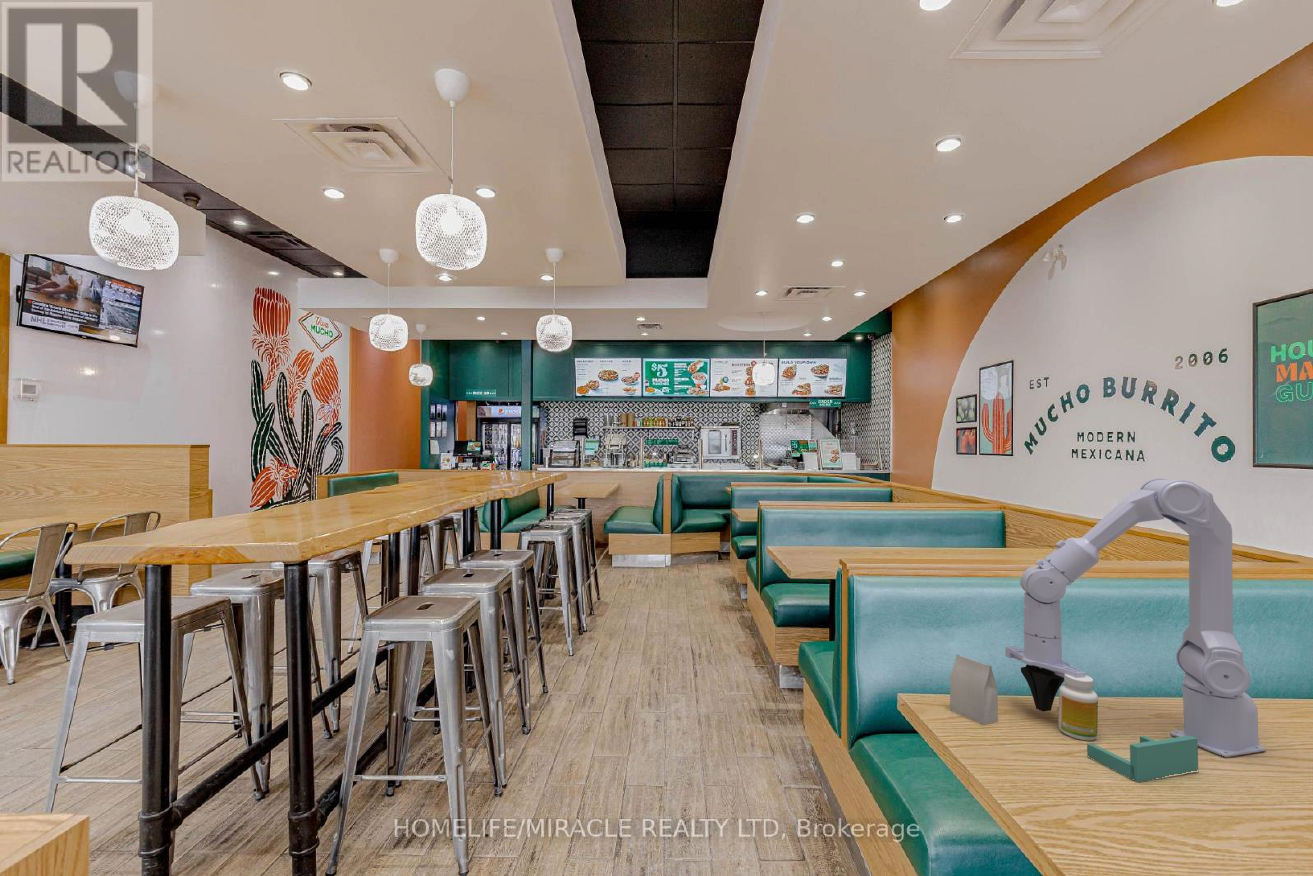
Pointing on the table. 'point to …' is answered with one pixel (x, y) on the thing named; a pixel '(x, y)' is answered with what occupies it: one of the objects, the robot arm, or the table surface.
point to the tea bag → (973, 691)
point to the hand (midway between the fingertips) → (1043, 709)
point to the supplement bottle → (1078, 708)
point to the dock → (1151, 758)
